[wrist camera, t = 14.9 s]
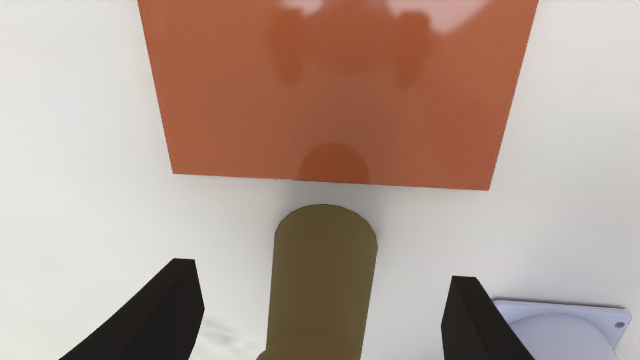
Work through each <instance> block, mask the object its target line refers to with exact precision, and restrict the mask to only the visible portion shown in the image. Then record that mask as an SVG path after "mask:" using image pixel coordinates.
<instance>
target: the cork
mask: <svg viewBox="0 0 640 360" xmlns="http://www.w3.org/2000/svg"><path fill="white" fill-rule="evenodd" d="M377 250H378V246H377V240H376V235H375V233H374V232H373V230H372V229H371V227H370V225H369V224H368V223H367V222H366V221H365V220H364V219H362V218H361V217H360V216H359V215H357V214H356V213H354V212H352V211H350V210H347V209H345V208H342V207H340V206H333V205H325V204H320V205H312V206H305V207H303V208H301V209H298V210H296V211H294V212H291V213H290V214H289V215H288V216H287V217H286V218H285V219H283V220H282V221H281V222H280V224H279V226H278V228H277V230H276V232H275V239H274V252H273V265H272V278H271V291H270V304H269V317H268V330H267V343H266V350H265V351H264V352H262V353H261V354H260V355H259V356H258V358H257V359H256V360H360V358H361V351H362V345H363V339H364V332H365V326H366V320H367V313H368V307H369V301H370V294H371V288H372V282H373V275H374V269H375V263H376V256H377Z"/></svg>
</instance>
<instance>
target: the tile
mask: <svg viewBox="0 0 640 360" xmlns="http://www.w3.org/2000/svg"><path fill="white" fill-rule="evenodd" d="M137 1H138V6H139V11H140V16H141V20H142V25H143V30H144V35H145V40H146V45H147V50H148V55H149V59H150V64H151V69H152V74H153V79H154V84H155V89H156V94H157V98H158V103H159V108H160V113H161V118H162V123H163V128H164V132H165V137H166V142H167V147H168V152H169V157H170V162H171V167H172V171H173V173H174V174H189V175H207V176H226V177H244V178H263V179H281V180H300V181H318V182H337V183H355V184H373V185H392V186H410V187H429V188H447V189H466V190H484V191H488V190H489V188H490V184H491V180H492V176H493V173H494V169H495V165H496V161H497V157H498V153H499V150H500V146H501V142H502V138H503V134H504V131H505V127H506V123H507V119H508V115H509V111H510V108H511V104H512V100H513V96H514V92H515V88H516V85H517V81H518V77H519V73H520V69H521V66H522V62H523V58H524V54H525V50H526V46H527V43H528V39H529V35H530V31H531V27H532V24H533V20H534V16H535V12H536V8H537V4H538V1H539V0H137Z"/></svg>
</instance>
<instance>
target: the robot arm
mask: <svg viewBox="0 0 640 360" xmlns="http://www.w3.org/2000/svg"><path fill="white" fill-rule="evenodd" d="M204 310H205V308H204V303H203V298H202V293H201V289H200V284H199V279H198V274H197V269H196V265H195V260H194V259H178V258H173V259H172V260H171V261H170V262H169V263H168V264H167V265H166V266H165V267H164V268H163V269H162V270H161V271H159V272H158V273H157V274H156V275H155V276H154V277H153V278H152V279H151V280H150V281H149V282H148V283H147V284H146V285H145V286H144V287H143V288H142V289H141V290H140V291H139V292H138V293H136V294H135V295H134V296H133V297H132V298H131V299H130V300H129V301H128V302H127V303H126V304H125V305H123V306H122V307H121V308H120V309H119V310H118V311H117V312H116V313H115V314H114V315H113V316H111V317H110V318H109V319H108V320H107V321H106V322H104V323H103V324H102V325H101V326H100V327H99V328H97V329H96V330H95V331H94V332H93V333H91V334H90V335H89V336H88V337H87V338H86V339H84V340H83V341H82V342H81V343H79V344H78V345H77V346H76V347H74V348H73V349H72V350H71V351H69V352H68V353H67V354H65V355H64V356H63V357H62V358H60V359H59V360H188V359H189V357H190V354H191V352H192V350H193V347H194V345H195V342H196V338H197V335H198V332H199V328H200V325H201V321H202V317H203V314H204ZM631 319H632V316H631V314H630V312H629V311H628V310H626V309H618V308H604V307H590V306H576V305H562V304H549V303H535V302H521V301H507V300H496V301H494V302H492V300H491V299H490V297H489V296H488V294H487V293H486V291H485V290H484V288H483V287H482V285H481V284H480V282H479V281H478V280H477V278H476V277H464V276H452V280H451V284H450V288H449V293H448V297H447V302H446V306H445V310H444V315H443V319H442V323H441V332H442V342H443V351H444V359H445V360H618V358H617V356H616V355H615V353H614V351H613V350H614V348H615V347H616V345H617V343H618V341H619V340H620V338H621V336H622V335H623V333H624V331H625V330H626V328H627V326H628V324H629V323H630V321H631Z"/></svg>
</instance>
